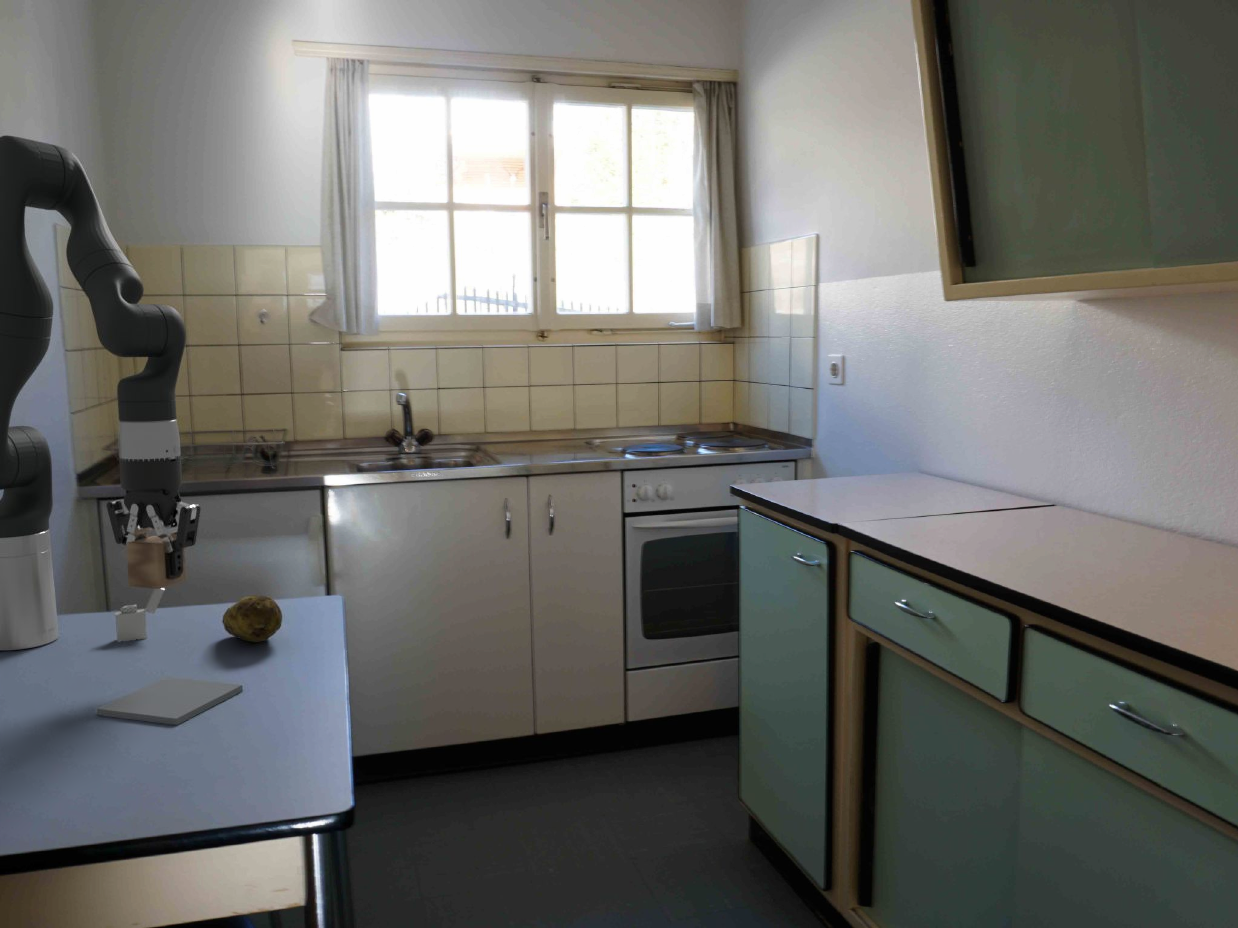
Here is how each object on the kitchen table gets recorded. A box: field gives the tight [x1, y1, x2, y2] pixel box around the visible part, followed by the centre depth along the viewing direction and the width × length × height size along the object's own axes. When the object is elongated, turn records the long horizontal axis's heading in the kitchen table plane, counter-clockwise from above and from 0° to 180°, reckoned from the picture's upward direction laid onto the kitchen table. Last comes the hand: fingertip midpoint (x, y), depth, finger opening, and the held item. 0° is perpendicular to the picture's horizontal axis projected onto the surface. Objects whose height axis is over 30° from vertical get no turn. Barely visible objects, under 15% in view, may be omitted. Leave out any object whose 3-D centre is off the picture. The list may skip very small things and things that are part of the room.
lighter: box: [115, 587, 166, 643], centre depth 153 cm, size 7×2×8 cm, turn 118°
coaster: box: [96, 676, 244, 726], centre depth 125 cm, size 12×12×1 cm
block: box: [125, 535, 187, 590], centre depth 134 cm, size 5×5×6 cm
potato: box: [222, 595, 283, 643], centre depth 149 cm, size 8×13×8 cm, turn 23°
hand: (157, 575), depth 134 cm, fingers closed on block, 5 cm apart
